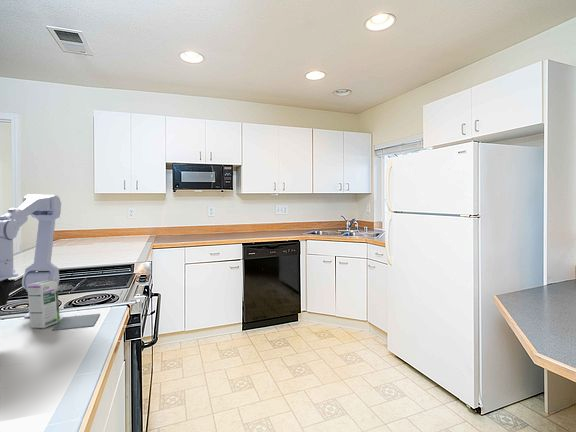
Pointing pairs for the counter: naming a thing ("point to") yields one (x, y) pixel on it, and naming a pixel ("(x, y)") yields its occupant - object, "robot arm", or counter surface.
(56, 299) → the syrup box
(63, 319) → the mat
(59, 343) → the counter surface
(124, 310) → the counter surface
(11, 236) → the robot arm
